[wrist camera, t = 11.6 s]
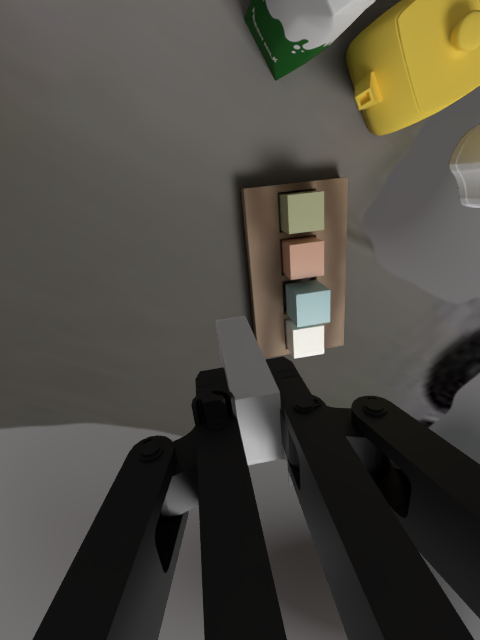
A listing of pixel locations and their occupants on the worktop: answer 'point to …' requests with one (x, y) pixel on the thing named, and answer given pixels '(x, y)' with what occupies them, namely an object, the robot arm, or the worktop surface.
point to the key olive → (301, 211)
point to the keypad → (267, 260)
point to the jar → (468, 167)
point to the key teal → (308, 303)
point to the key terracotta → (302, 257)
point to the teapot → (415, 61)
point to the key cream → (304, 339)
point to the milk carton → (298, 28)
